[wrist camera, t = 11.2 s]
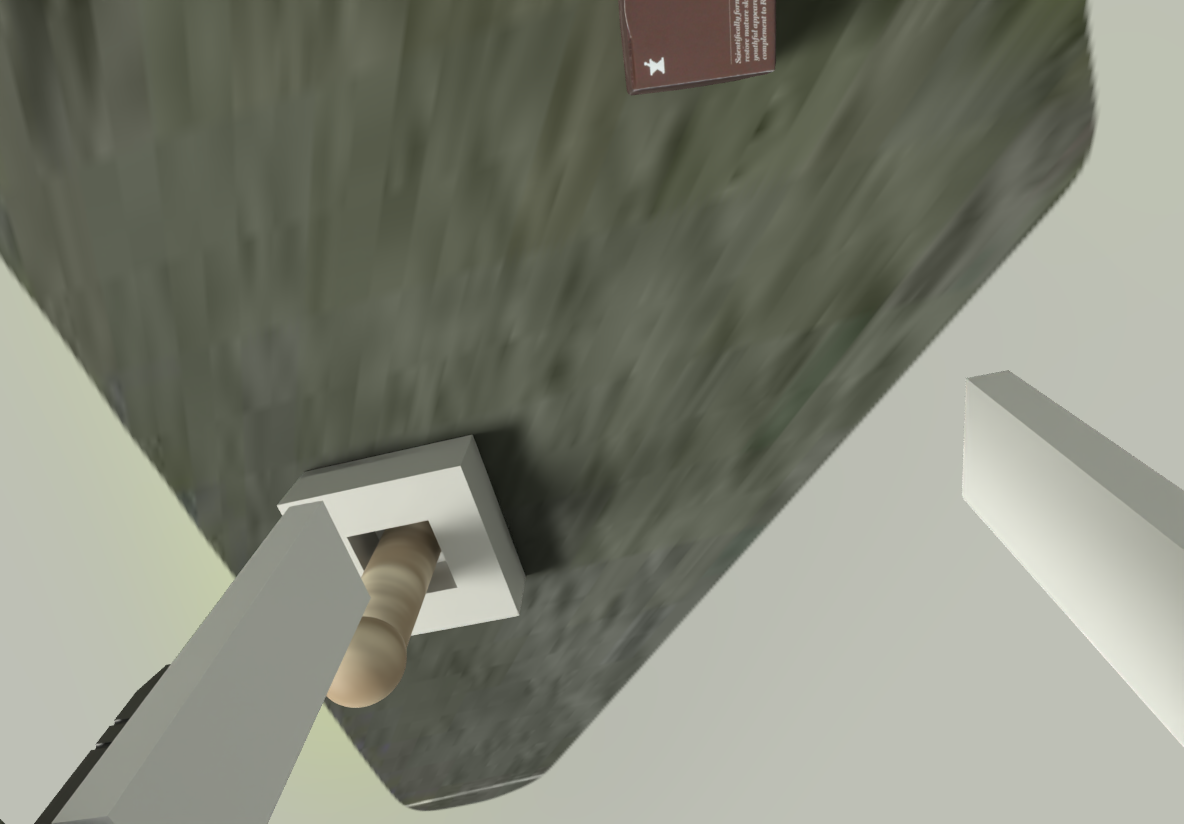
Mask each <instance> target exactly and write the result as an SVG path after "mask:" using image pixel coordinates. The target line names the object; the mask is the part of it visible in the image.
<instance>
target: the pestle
mask: <svg viewBox="0 0 1184 824" xmlns="http://www.w3.org/2000/svg"><path fill="white" fill-rule="evenodd" d="M440 553H441V548H440V546H439V544H438V541H437V539H436V537H435V534H434V532H433V530H432V528H431V525H430V523H429V521H428V520H427V521H422V522H417V523H413V524H408V525H403V526H398V527H393V528H388V529H385V531H384V533H383V535H382V537H381V539H380V541H379V543H378V545H377V547H376V549H375V551H374V553H373V555H372V557H371V559H370V561H369V563H368V565H367V567H366V569H365V570H364V572H363V574H362V576H361V579H362V581H363V583H364V585H365V587H366V589H367V591H368V593H369V595H370V597H371V598H370V600H369V603H368V605H367V607H366V609H365V611H364V614H363V616H362V618H361V620H360V622H359V625H358V627H357V629H356V631H355V633H354V636H353V638H352V640H351V642H350V644H349V647H348V649H347V651H346V653H345V655H344V657H343V660H342V662H341V664H340V666H339V668H338V671H337V673H336V675H335V677H334V679H333V682H332V684H331V686H330V688H329V690H328V693H327V695H326V696H327V697H328V698H329V699H331V700H332V701H333V702H335V703H337V704H339V705H342V706H346V707H352V708H358V707H365V706H369V705H372V704H375V703H377V702H379V701H380V700H382V699H383V698H385V697H386V696H387V695H389V694H390V693H391V692H392V691H393V690H394V688H395V687H396V686H397V684H398V683H399V681H400V680H401V678H402V675H403V673H404V670H405V666H406V660H407V652H406V648H407V645H408V642H409V640H410V637H411V634H412V631H413V628H414V626H415V623H416V620H417V617H418V615H419V612H420V609H421V606H422V603H423V601H424V598H425V595H426V592H427V589H428V587H429V584H430V581H431V578H432V575H433V573H434V570H435V567H436V564H437V561H438V559H439V556H440Z"/></svg>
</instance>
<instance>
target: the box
mask: <svg viewBox="0 0 1184 824" xmlns="http://www.w3.org/2000/svg"><path fill="white" fill-rule="evenodd" d="M618 2H619V16H620V28H621V38H622V48H623V58H624V67H625V75H626V86H627V92H628V94H630V95H637V94H647V93H655V92H664V91H673V90H680V89H687V88H694V87H700V86H707V85H713V84H719V83H725V82H730V81H736V80H741V79H745V78H750V77H754V76H759V75H764V74H768V73H770V72H772V71H774V70H775V64H776V0H618Z"/></svg>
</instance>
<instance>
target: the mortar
mask: <svg viewBox="0 0 1184 824" xmlns="http://www.w3.org/2000/svg"><path fill="white" fill-rule="evenodd" d="M322 500H323V502H324V504H325V506H326V508H327V510H328V512H329V514H330V516H331V518H332V520H333V522H334V524H335V526H336V528H337V530H338V532H339V534H340V537H341V539H342V541H343V543H344V545H345V547H346V549H347V551H348V553H349V555H350V557H351V559H352V561H353V563H354V565H355V567H356V569H357V571H358V573H359V575H360V577H361V576H362V574H363V572H364V570H365V569H366V567H367V565H368V563H369V561H370V559H371V557H372V555H373V553H374V551H375V549H376V547H377V545H378V543H379V541H380V539H381V537H382V535H383V533H384V531H385V529H388V528H393V527H398V526H403V525H408V524H413V523H417V522H422V521H427V520H428V521H429V523H430V525H431V528H432V530H433V532H434V534H435V537H436V539H437V541H438V544H439V546H440V548H441V553H440V556H439V559H438V561H437V564H436V567H435V570H434V573H433V575H432V578H431V581H430V584H429V587H428V589H427V592H426V595H425V598H424V601H423V603H422V606H421V609H420V612H419V615H418V617H417V620H416V623H415V626H414V628H413V631H412V634H411V636H412V635H417V634H422V633H428V632H433V631H439V630H444V629H450V628H455V627H460V626H466V625H471V624H477V623H482V622H487V621H493V620H498V619H504V618H509V617H515V616H519V614H520V608H521V601H522V595H523V589H524V583H525V577H526V576H525V573H524V571H523V568H522V565H521V563H520V560H519V557H518V555H517V552H516V549H515V547H514V544H513V541H512V538H511V536H510V533H509V530H508V528H507V525H506V522H505V520H504V517H503V514H502V512H501V509H500V506H499V504H498V501H497V498H496V496H495V493H494V490H493V488H492V485H491V482H490V480H489V477H488V474H487V472H486V469H485V466H484V463H483V461H482V458H481V455H480V453H479V450H478V447H477V445H476V442H475V439H474V437H473V435H468V436H464V437H459V438H455V439H450V440H446V441H441V442H437V443H432V444H428V445H423V446H419V447H414V448H410V449H405V450H401V451H396V452H392V453H387V454H383V455H378V456H374V457H369V458H365V459H360V460H356V461H351V462H347V463H342V464H338V465H333V466H328V467H324V468H319V469H315V470H310V471H306V472H304V473H303V474H302V475H301V476H300V477H299V479H298V480H297V481H296V482H295V484H294V485H293V486H292V487H291V489H290V490H289V491H288V492H287V494H286V495H285V496H284V497H283V498H282V500H281V501H280V502H279V503H278V505H277V506H278V508H279V510H280V512H281V514H282V516H283V515H284V513H285V512H286V511H287V509H288V508H289V507H291V506H296V505H301V504H306V503H312V502H317V501H322Z"/></svg>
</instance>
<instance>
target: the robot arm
mask: <svg viewBox="0 0 1184 824" xmlns="http://www.w3.org/2000/svg"><path fill="white" fill-rule="evenodd" d="M963 454H964V455H963V482H962V498H963V499H964V500H965V501H966V502H967V503H968V504H969V506H970V507H971V508H972V509H973V510H974V511H975V512H976V513H977V515H978V516H979V517H980V518H981V519H982V520H983V521H984V523H985V524H986V525H987V526H988V527H989V528H990V529H991V530H992V532H993V533H994V534H995V535H996V536H997V537H998V538H999V539H1000V540H1001V542H1002V543H1003V544H1004V545H1005V546H1006V547H1007V548H1008V550H1009V551H1010V552H1011V553H1012V554H1013V555H1014V556H1015V557H1016V559H1017V560H1018V561H1019V562H1020V563H1021V564H1022V565H1023V567H1024V568H1025V569H1026V570H1027V571H1028V572H1029V573H1030V574H1031V575H1032V577H1033V578H1034V579H1035V580H1036V581H1037V582H1038V583H1039V585H1040V586H1041V587H1042V588H1043V589H1044V590H1045V591H1046V592H1047V593H1048V595H1049V596H1050V597H1051V598H1052V599H1053V600H1054V601H1055V603H1056V604H1057V605H1058V606H1059V607H1060V608H1061V609H1062V610H1063V611H1064V613H1065V614H1066V615H1067V616H1068V617H1069V618H1070V620H1071V621H1072V622H1073V623H1074V624H1075V625H1076V626H1077V627H1078V628H1079V630H1080V631H1081V632H1082V633H1083V634H1084V635H1085V636H1086V638H1088V640H1089V641H1090V642H1091V643H1092V644H1093V645H1094V647H1095V648H1096V649H1097V650H1098V651H1099V652H1100V653H1101V655H1102V656H1103V657H1104V658H1105V659H1106V660H1107V661H1108V662H1109V663H1110V665H1111V666H1112V667H1113V668H1114V669H1115V670H1116V671H1117V673H1118V674H1119V675H1120V676H1121V677H1122V678H1123V679H1124V680H1125V682H1126V683H1127V684H1128V685H1129V686H1130V687H1131V688H1132V689H1133V691H1134V692H1135V693H1136V694H1137V695H1138V696H1139V697H1140V698H1141V699H1142V701H1143V702H1144V703H1145V704H1146V705H1147V706H1148V708H1149V709H1150V710H1151V711H1152V712H1153V713H1154V714H1155V715H1156V717H1157V718H1158V719H1159V720H1160V721H1161V722H1162V723H1163V724H1164V725H1165V727H1166V728H1167V729H1168V730H1169V731H1170V732H1171V733H1172V735H1173V736H1174V737H1175V738H1176V739H1177V740H1178V741H1179V742H1180V744H1181V745H1182V746H1183V747H1184V491H1183V490H1182V489H1180V488H1179V487H1177V486H1176V485H1175V484H1173V483H1172V482H1170V481H1169V480H1167V479H1166V478H1165V477H1163V476H1162V475H1160V474H1159V473H1157V472H1155V471H1154V470H1153V469H1151V468H1150V467H1148V466H1147V465H1146V464H1144V463H1143V462H1141V461H1140V460H1138V459H1137V458H1135V457H1134V456H1132V455H1131V454H1130V453H1128V452H1127V451H1125V450H1124V449H1122V448H1121V447H1119V446H1118V445H1116V444H1115V443H1113V442H1112V441H1111V440H1109V439H1108V438H1106V437H1105V436H1103V435H1102V434H1100V433H1099V432H1098V431H1096V430H1095V429H1093V428H1092V427H1090V426H1089V425H1087V424H1086V423H1084V422H1083V421H1082V420H1080V419H1079V418H1077V417H1076V416H1074V415H1073V414H1071V413H1070V412H1068V411H1067V410H1066V409H1064V408H1063V407H1061V406H1060V405H1058V404H1057V403H1055V402H1054V401H1052V400H1051V399H1050V398H1048V397H1047V396H1045V395H1044V394H1042V393H1041V392H1039V391H1038V390H1036V389H1035V388H1033V387H1032V386H1031V385H1029V384H1027V383H1026V382H1025V381H1023V380H1022V379H1020V378H1019V377H1017V376H1016V375H1014V374H1013V373H1012V372H1010V371H1009V370H1007V371H1002V372H996V373H991V374H986V375H981V376H975V377H970V378H966V395H965V424H964V452H963ZM370 598H371V597H370V595H369V593H368V591H367V589H366V587H365V585H364V583H363V581H362V579H361V577H360V575H359V573H358V571H357V569H356V567H355V565H354V563H353V561H352V559H351V557H350V555H349V553H348V551H347V549H346V547H345V545H344V543H343V541H342V539H341V537H340V534H339V532H338V530H337V528H336V526H335V524H334V522H333V520H332V518H331V516H330V514H329V512H328V510H327V508H326V506H325V504H324V502H323V500H322V501H317V502H312V503H306V504H301V505H296V506H291V507H289V508H288V509H287V511H286V512H285V513H284V515H283V516H282V517H281V519H280V520H279V521H278V522H277V524H276V525H275V526H274V528H273V529H272V530H271V532H270V533H269V534H268V536H267V537H266V538H265V540H264V541H263V542H262V544H261V545H260V546H259V548H258V549H257V550H256V552H255V553H254V554H253V556H252V557H251V558H250V560H249V561H248V562H247V564H246V565H245V566H244V568H243V569H242V570H241V572H240V573H239V574H238V576H237V577H236V578H235V580H234V581H233V582H232V584H231V585H230V586H229V588H228V589H227V590H226V592H225V593H224V594H223V596H222V597H221V598H220V600H219V601H218V602H217V604H216V605H215V606H214V608H213V609H212V610H211V612H210V613H209V614H208V616H207V617H206V618H205V620H204V621H203V622H202V624H201V625H200V626H199V628H198V629H197V630H196V632H195V633H194V634H193V635H192V637H191V638H190V639H189V641H188V642H187V644H186V645H185V646H184V647H183V649H182V650H181V651H180V653H179V654H178V656H177V657H176V658H175V660H174V661H173V662H172V664H169V665H166V666H165V667H164V668H163V669H161V670H160V671H159V672H158V673H157V674H156V675H155V676H153V677H152V678H151V679H150V680H149V681H148V682H147V683H146V684H144V685H143V686H142V687H141V688H140V689H139V690H138V691H137V692H136V693H135V694H134V696H133V697H132V698H131V699H130V701H129V702H128V703H127V705H126V706H125V707H124V708H123V710H122V711H121V712H120V714H119V715H118V716H117V717H116V719H115V720H114V721H115V724H114V725H113V726H109V728H108V729H107V730H106V732H105V733H104V734H103V736H102V737H101V738H100V739H99V741H98V742H97V743H96V749H95V750H91V751H90V753H89V754H88V755H87V757H85V759H84V760H83V761H82V763H81V764H80V765H79V767H78V768H77V769H76V770H75V772H74V773H73V774H72V775H71V777H70V778H69V779H68V781H67V782H66V783H65V785H64V786H63V787H62V789H61V790H60V791H59V792H58V794H57V795H56V796H55V797H54V799H53V800H52V802H51V803H50V804H49V805H48V807H47V808H46V809H45V810H44V812H43V813H42V814H41V816H40V817H39V818H38V819H37V821H36V822H35V823H34V824H268V822H269V820H270V817H271V815H272V813H273V811H274V809H275V806H276V804H277V802H278V800H279V798H280V795H281V793H282V791H283V789H284V787H285V785H286V782H287V780H288V778H289V776H290V774H291V771H292V769H293V767H294V764H295V763H296V760H297V758H298V756H299V754H300V752H301V749H302V747H303V745H304V743H305V741H306V738H307V736H308V734H309V732H310V730H311V727H312V725H313V723H314V721H315V719H316V716H317V714H318V712H319V710H320V708H321V706H322V703H323V701H324V699H325V697H326V695H327V693H328V690H329V688H330V686H331V684H332V682H333V679H334V677H335V675H336V673H337V671H338V668H339V666H340V664H341V662H342V660H343V657H344V655H345V653H346V651H347V649H348V647H349V644H350V642H351V640H352V638H353V636H354V633H355V631H356V629H357V627H358V625H359V622H360V620H361V618H362V616H363V614H364V611H365V609H366V607H367V605H368V603H369V600H370ZM0 824H5V823H4V822H3V821H2V820H1V819H0Z"/></svg>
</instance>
